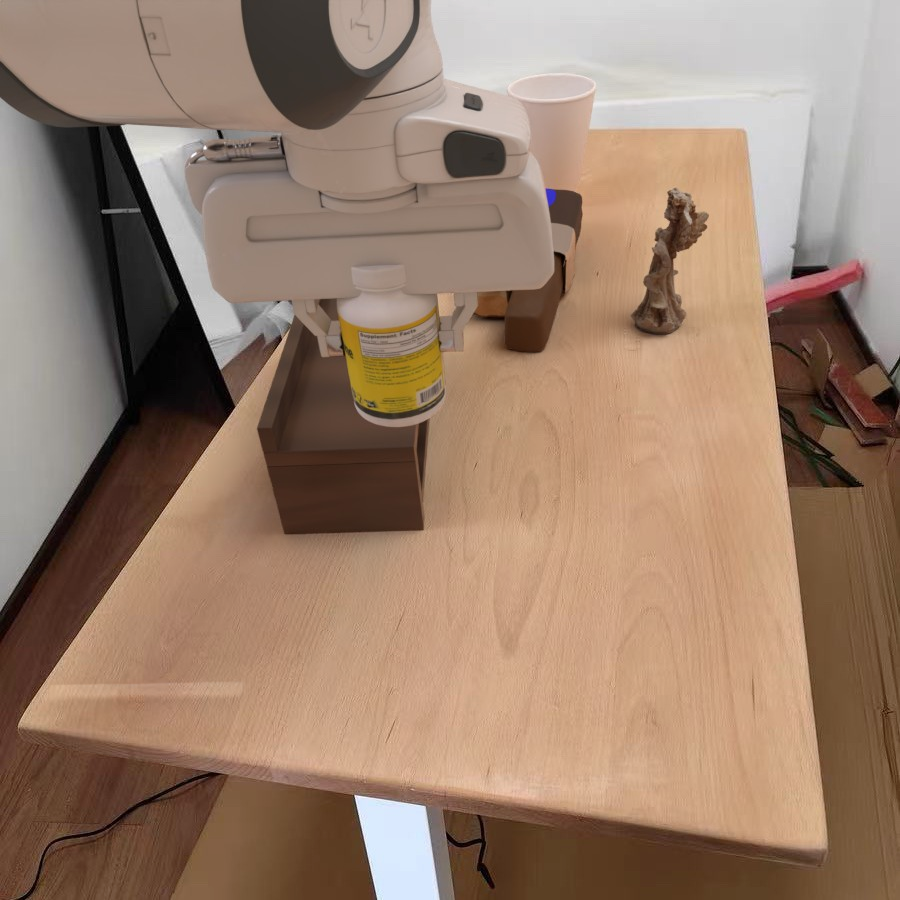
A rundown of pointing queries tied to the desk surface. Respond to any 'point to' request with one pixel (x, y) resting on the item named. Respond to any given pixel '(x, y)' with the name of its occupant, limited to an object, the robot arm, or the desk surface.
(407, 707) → the desk surface
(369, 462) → the shelf
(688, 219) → the figurine
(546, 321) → the chocolate bar pack
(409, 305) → the pill bottle
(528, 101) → the cup
